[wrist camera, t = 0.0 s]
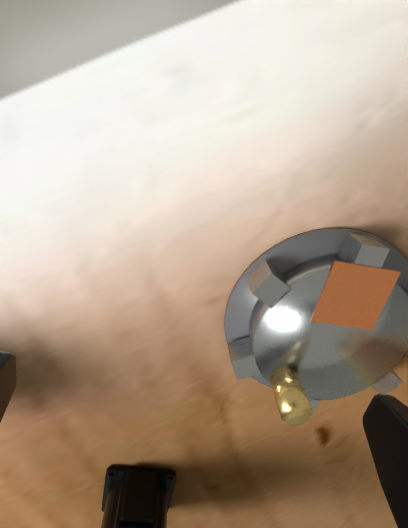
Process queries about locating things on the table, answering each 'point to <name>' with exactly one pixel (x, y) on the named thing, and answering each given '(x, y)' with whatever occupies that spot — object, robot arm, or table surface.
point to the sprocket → (325, 328)
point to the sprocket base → (289, 257)
